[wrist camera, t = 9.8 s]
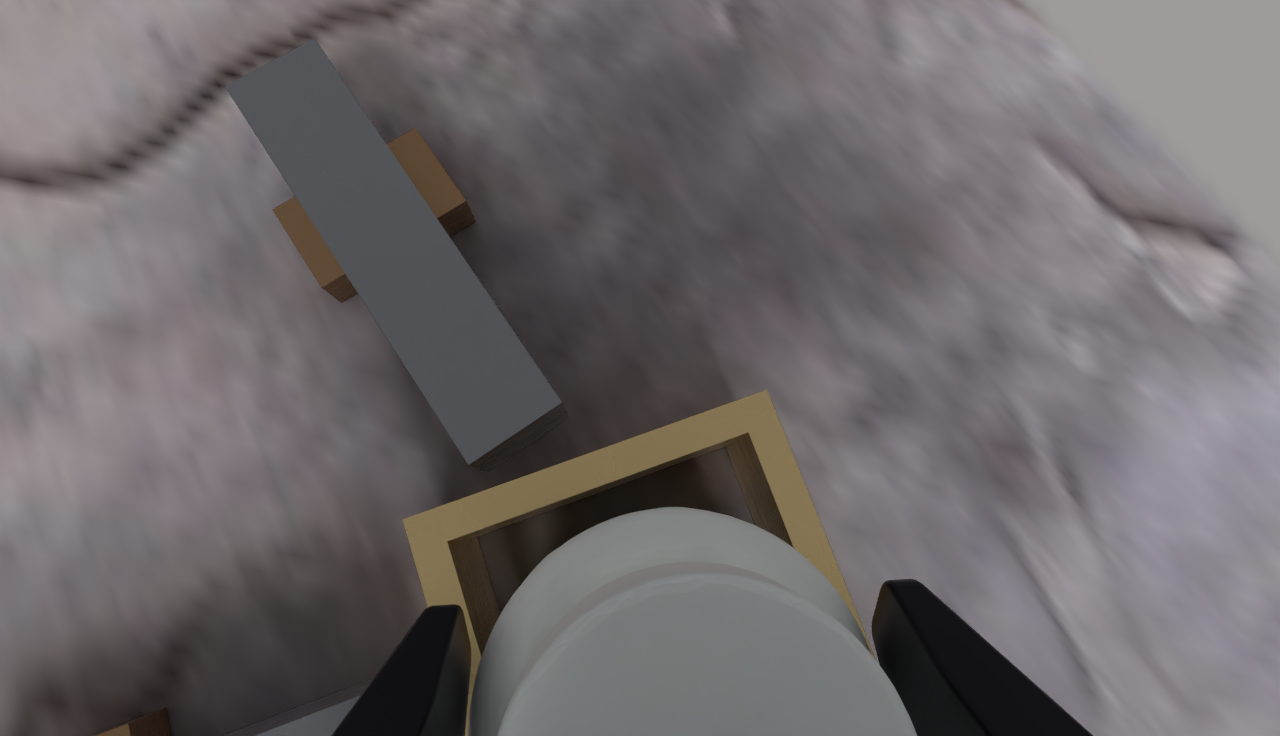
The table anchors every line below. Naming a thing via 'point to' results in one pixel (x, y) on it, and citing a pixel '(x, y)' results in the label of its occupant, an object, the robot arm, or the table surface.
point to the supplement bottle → (680, 640)
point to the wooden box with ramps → (463, 358)
